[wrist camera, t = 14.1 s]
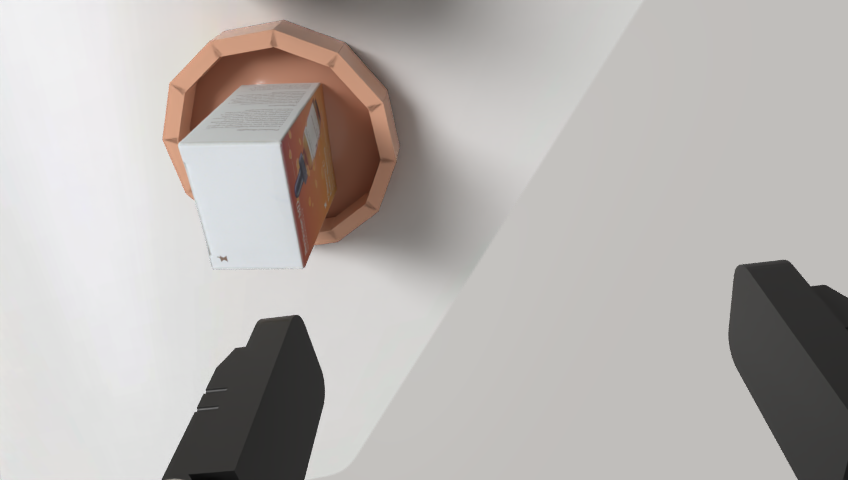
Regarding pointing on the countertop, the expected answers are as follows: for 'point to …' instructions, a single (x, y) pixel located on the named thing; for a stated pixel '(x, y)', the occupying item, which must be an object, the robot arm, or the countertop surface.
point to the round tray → (297, 63)
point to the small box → (262, 175)
